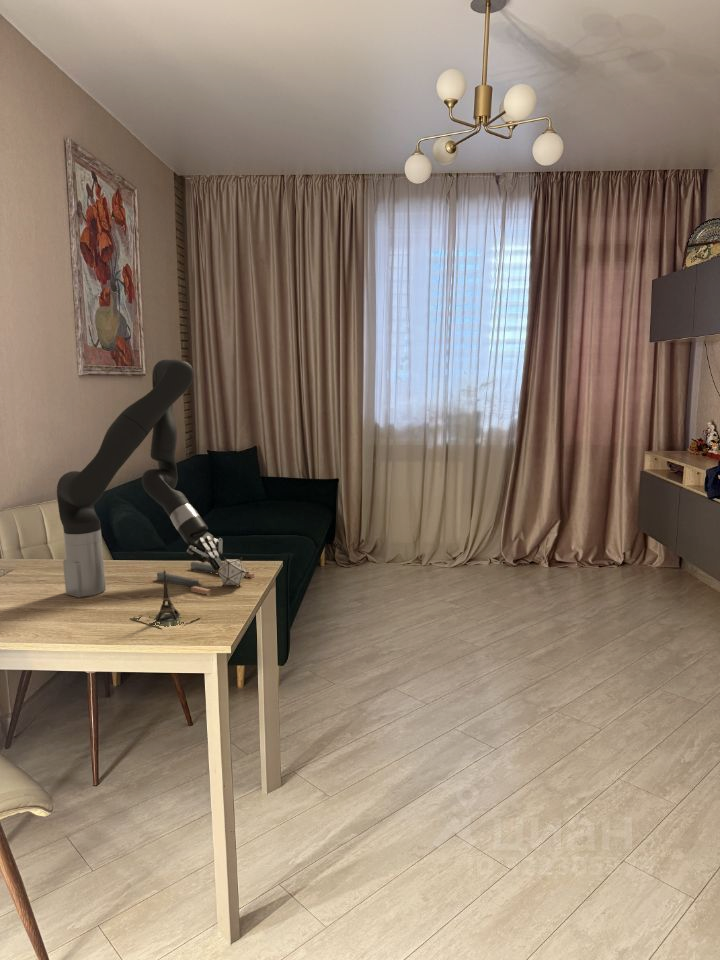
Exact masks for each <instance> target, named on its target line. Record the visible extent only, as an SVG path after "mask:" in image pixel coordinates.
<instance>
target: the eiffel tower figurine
mask: <svg viewBox="0 0 720 960" xmlns="http://www.w3.org/2000/svg"><path fill="white" fill-rule="evenodd" d="M162 573H163V574H164V581H163V596H162V600H163V601H162V603H161V605H160V610H159V612H158V614H157V615H155V619H156V621H155V622H153V623H149V624H147V625H149V626H151V625H155V623H156V625H159V626H164V627H166V626H167V627H169V626H170V625H171V626H176V625H178V624H179V625H181V624H182V623H183V624H184V622H181V624H180V621H179V620H180V619H181V615H180V614H182V613H181V612H179V611H178V610H177V609H176V608H175V606H174V603H172V600H171V599H170V595H169V590H168V589H169V588H168V582H167V581H166V573H167V571H166V570H165V568H164V569H163V572H162ZM166 602H167V604H166ZM135 617H136V616H133V617H131V618H129V620H131V621H132V620H133V621H135V622H137V621H136V620H137V619H138V620H139V619H140V618H141V617H139V618H135ZM179 618H180V619H179ZM177 621H179V623H177ZM157 622H160V624H159V623H157ZM193 622H195V621H194V620H193ZM156 625H155V626H153V627H154V628H157V627H156ZM159 626H158V627H159Z"/></svg>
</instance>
